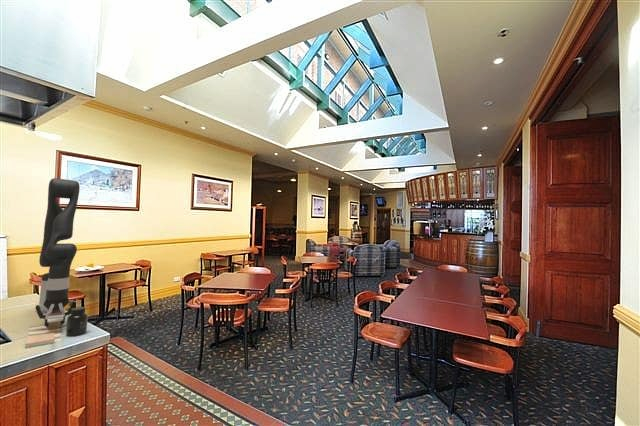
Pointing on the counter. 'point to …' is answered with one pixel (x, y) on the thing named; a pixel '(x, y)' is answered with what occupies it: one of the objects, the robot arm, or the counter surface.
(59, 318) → the brown block
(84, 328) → the supplement bottle
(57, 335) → the board
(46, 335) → the tile
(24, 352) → the counter surface
